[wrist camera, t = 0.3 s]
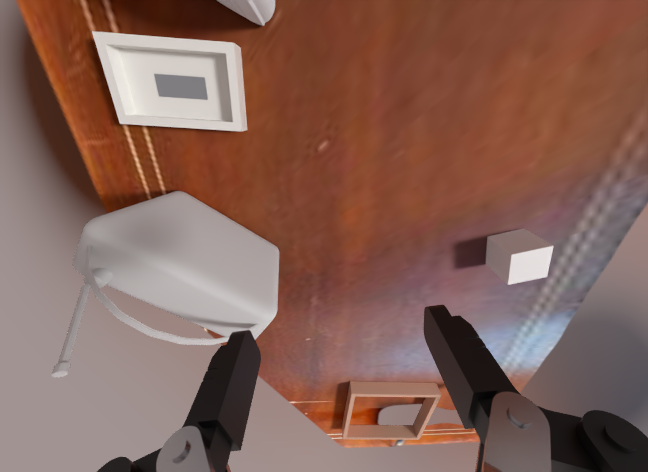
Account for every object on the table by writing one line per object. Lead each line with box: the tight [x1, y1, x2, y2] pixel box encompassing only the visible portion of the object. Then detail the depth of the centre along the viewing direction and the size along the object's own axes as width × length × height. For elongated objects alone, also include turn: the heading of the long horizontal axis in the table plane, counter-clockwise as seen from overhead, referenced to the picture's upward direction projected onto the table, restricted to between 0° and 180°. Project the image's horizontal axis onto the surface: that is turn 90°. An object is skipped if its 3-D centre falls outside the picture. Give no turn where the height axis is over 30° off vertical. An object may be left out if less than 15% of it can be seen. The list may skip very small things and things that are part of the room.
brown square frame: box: [342, 381, 441, 440], centre depth 64 cm, size 22×22×3 cm
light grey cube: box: [486, 228, 553, 285], centre depth 40 cm, size 6×6×6 cm
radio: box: [52, 191, 279, 377], centre depth 30 cm, size 22×8×25 cm, turn 53°
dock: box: [92, 31, 247, 131], centre depth 29 cm, size 9×15×3 cm, turn 87°
